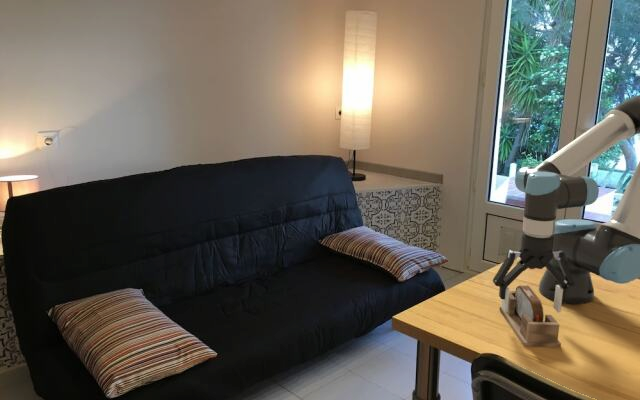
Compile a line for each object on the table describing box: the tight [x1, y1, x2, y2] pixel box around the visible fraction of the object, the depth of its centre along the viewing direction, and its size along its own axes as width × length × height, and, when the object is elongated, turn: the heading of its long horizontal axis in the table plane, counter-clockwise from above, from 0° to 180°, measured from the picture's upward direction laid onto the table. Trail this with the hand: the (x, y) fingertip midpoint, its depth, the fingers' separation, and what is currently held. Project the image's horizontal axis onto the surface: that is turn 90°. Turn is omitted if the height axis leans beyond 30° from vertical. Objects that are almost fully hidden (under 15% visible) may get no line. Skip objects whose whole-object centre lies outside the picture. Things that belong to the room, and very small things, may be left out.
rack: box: [499, 290, 562, 348], centre depth 137 cm, size 9×20×6 cm, turn 178°
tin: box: [515, 284, 545, 322], centre depth 137 cm, size 15×3×8 cm, turn 178°
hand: (530, 310), depth 137 cm, fingers open, 13 cm apart
